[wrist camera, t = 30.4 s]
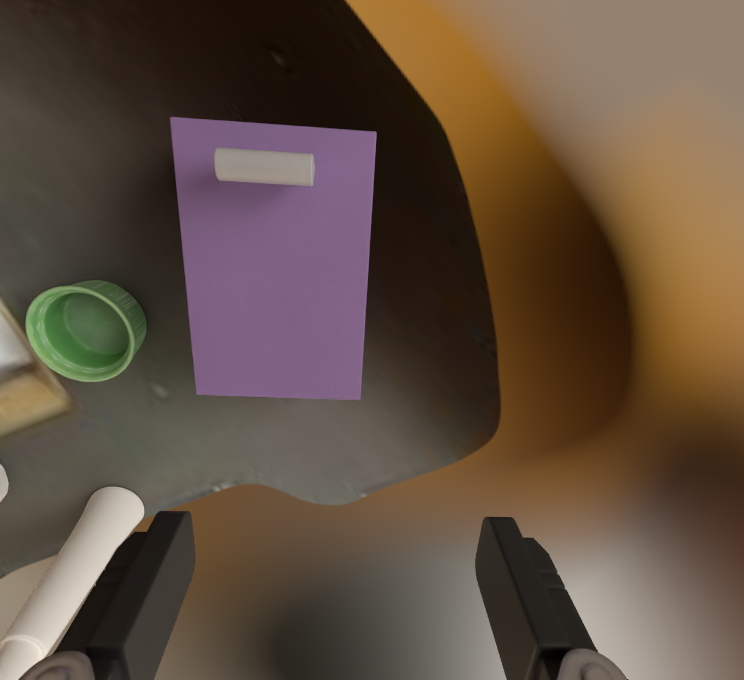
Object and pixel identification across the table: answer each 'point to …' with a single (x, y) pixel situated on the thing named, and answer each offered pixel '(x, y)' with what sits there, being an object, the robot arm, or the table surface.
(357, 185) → the lid
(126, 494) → the cosmetic bottle
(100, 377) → the ramekin
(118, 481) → the table surface
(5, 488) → the supplement can
